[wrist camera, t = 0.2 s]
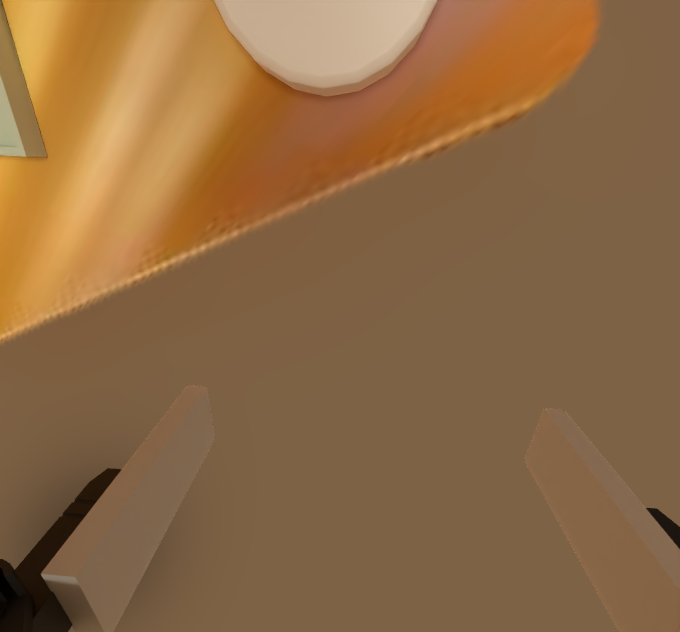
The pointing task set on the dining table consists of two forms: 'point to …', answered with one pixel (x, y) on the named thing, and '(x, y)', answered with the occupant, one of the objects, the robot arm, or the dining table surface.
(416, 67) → the dining table surface
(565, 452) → the robot arm
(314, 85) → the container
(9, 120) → the parts tray
